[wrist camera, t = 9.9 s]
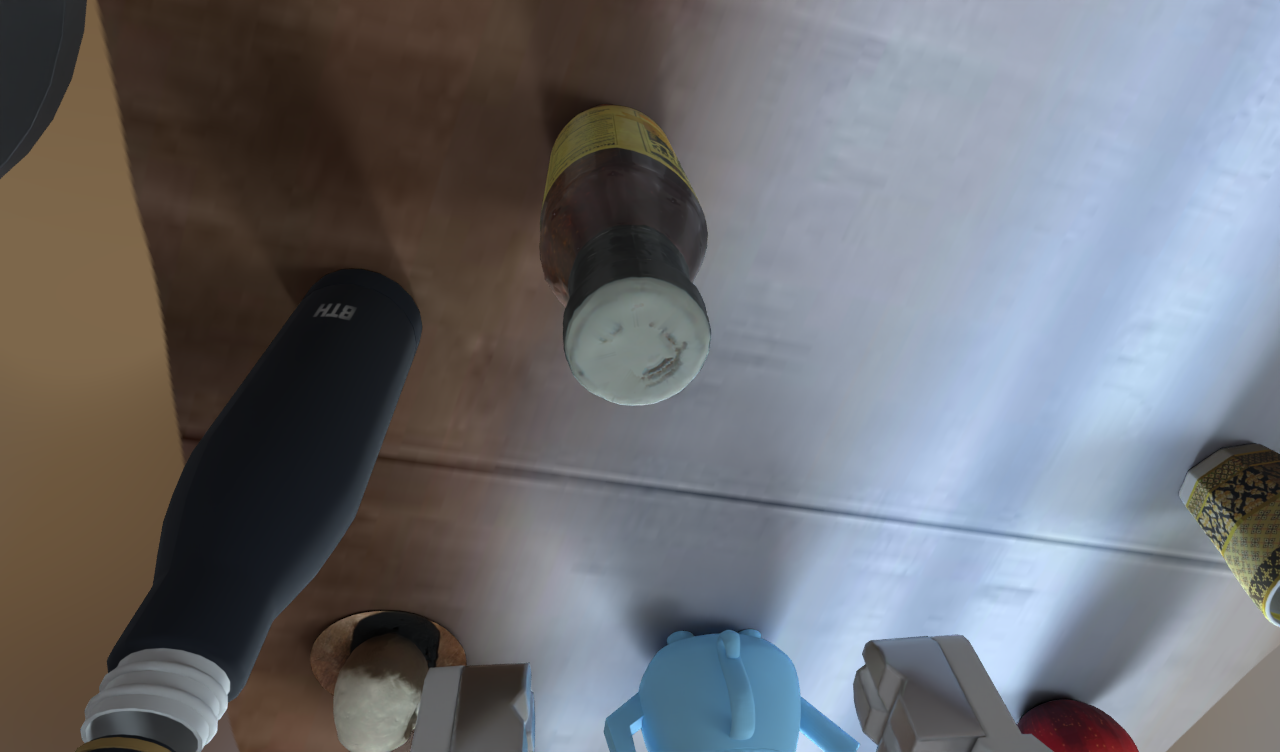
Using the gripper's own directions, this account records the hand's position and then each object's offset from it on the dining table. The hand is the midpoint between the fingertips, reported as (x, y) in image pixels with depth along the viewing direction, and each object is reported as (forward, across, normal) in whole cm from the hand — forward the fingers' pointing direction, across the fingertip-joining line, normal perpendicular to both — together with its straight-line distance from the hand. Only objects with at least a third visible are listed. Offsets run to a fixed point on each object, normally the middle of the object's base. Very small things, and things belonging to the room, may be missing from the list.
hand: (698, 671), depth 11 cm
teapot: (+29, -9, +43) cm, 53 cm away
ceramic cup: (+29, -48, +24) cm, 61 cm away
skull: (+29, +18, +40) cm, 53 cm away
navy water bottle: (+29, +14, +9) cm, 34 cm away
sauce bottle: (+29, 0, 0) cm, 29 cm away
